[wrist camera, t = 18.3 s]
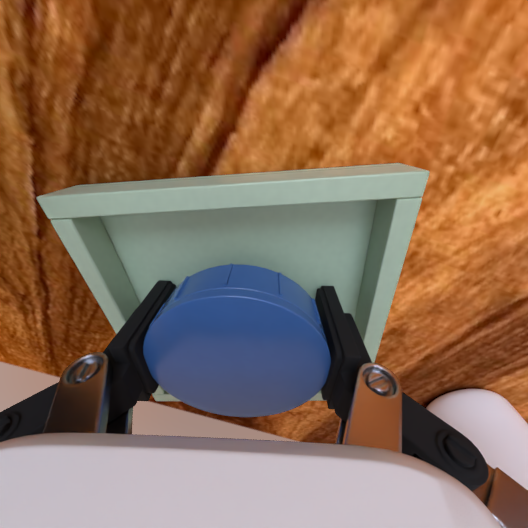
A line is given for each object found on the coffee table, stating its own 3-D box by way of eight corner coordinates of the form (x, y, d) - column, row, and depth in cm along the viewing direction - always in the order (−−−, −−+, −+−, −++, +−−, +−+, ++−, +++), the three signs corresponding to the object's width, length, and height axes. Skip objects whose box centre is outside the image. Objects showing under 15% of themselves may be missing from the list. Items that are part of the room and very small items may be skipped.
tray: (353, 370, 15) (363, 401, 13) (167, 373, 15) (155, 401, 14) (399, 162, 8) (431, 170, 7) (77, 184, 9) (34, 196, 7)
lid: (161, 248, 8) (132, 277, 6) (345, 281, 8) (363, 317, 7) (166, 366, 11) (148, 405, 10) (297, 386, 12) (301, 426, 10)
